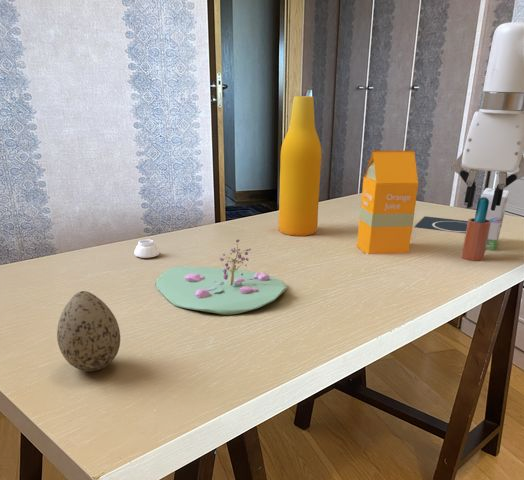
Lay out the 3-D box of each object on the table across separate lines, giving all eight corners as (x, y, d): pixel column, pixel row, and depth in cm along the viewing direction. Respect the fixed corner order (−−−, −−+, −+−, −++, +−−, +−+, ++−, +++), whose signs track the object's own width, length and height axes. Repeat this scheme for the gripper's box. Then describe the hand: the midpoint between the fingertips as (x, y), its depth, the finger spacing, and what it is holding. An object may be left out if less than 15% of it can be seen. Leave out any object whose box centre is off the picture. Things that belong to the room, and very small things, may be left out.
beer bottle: (270, 231, 126) (273, 95, 113) (294, 224, 132) (300, 95, 119) (300, 238, 120) (307, 97, 107) (324, 231, 126) (334, 96, 113)
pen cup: (483, 258, 108) (492, 219, 105) (481, 264, 105) (490, 224, 101) (462, 256, 110) (469, 217, 106) (459, 261, 106) (467, 221, 103)
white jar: (145, 250, 110) (129, 256, 106) (144, 236, 109) (127, 242, 105) (164, 254, 108) (149, 260, 104) (163, 240, 106) (148, 246, 103)
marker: (478, 257, 107) (490, 196, 102) (476, 259, 106) (489, 198, 100) (467, 255, 108) (479, 195, 103) (466, 258, 107) (478, 197, 101)
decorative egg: (57, 362, 66) (43, 287, 62) (114, 350, 69) (104, 277, 65) (70, 388, 61) (56, 308, 56) (131, 373, 64) (122, 296, 59)
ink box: (494, 252, 112) (507, 196, 107) (470, 249, 114) (481, 193, 109) (498, 243, 119) (510, 189, 114) (475, 240, 121) (485, 187, 116)
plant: (118, 293, 88) (112, 239, 84) (193, 261, 104) (191, 215, 100) (246, 326, 77) (246, 266, 73) (308, 285, 93) (311, 234, 89)
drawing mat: (496, 225, 134) (497, 223, 134) (490, 240, 121) (491, 238, 121) (424, 217, 141) (424, 215, 141) (411, 230, 128) (411, 228, 128)
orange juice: (408, 255, 110) (423, 152, 101) (368, 256, 109) (379, 153, 100) (394, 244, 117) (407, 148, 108) (356, 245, 115) (365, 148, 106)
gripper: (554, 105, 94) (528, 209, 102) (457, 101, 100) (440, 200, 109) (554, 106, 88) (527, 217, 96) (451, 102, 94) (433, 206, 103)
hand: (481, 207), depth 102 cm, fingers open, 3 cm apart
